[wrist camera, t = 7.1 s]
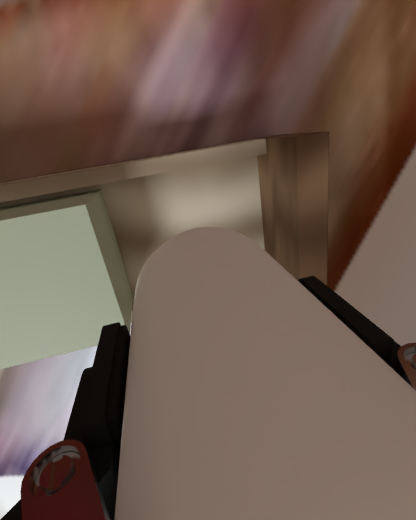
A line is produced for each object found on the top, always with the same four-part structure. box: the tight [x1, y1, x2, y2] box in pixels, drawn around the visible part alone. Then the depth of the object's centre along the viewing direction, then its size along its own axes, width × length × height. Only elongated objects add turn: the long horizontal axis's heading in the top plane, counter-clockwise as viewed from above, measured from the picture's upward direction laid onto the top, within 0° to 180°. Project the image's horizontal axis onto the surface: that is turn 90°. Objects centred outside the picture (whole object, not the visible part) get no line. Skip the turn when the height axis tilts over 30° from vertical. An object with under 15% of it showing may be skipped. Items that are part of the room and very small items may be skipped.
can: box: [114, 227, 416, 520], centre depth 8 cm, size 6×6×12 cm
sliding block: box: [0, 189, 133, 369], centre depth 19 cm, size 9×12×6 cm
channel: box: [0, 132, 329, 323], centre depth 20 cm, size 12×30×8 cm, turn 99°
